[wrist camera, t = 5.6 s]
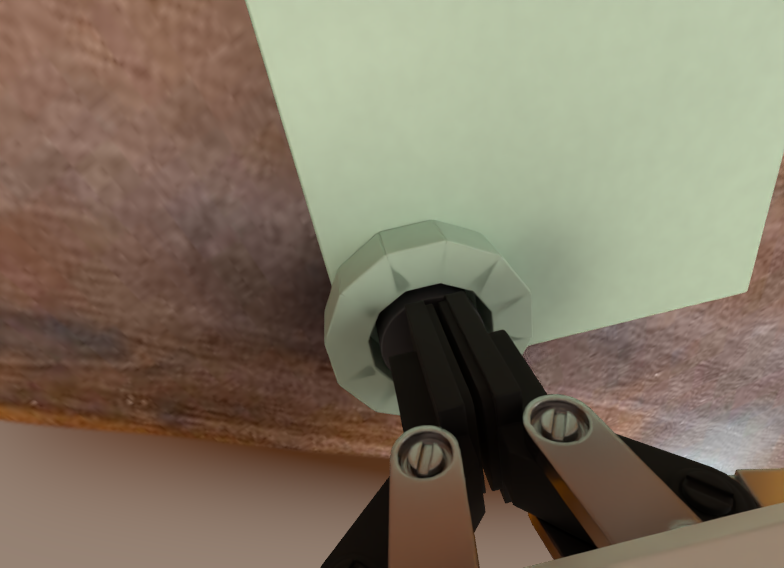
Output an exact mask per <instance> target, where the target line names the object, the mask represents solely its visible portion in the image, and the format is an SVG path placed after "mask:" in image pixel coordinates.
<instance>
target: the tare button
mask: <svg viewBox="0 0 784 568" xmlns="http://www.w3.org/2000/svg"><path fill="white" fill-rule="evenodd" d="M460 291H464V292H465V294H466V295H467V297H468V299H469V300H470V302H471V304H472V306H473V307H474V309H475V311H476V312H477V314H478V316H479V318H480V319H481V321H482V323H483V320H482V318H481V316H480V315H479V313H478V311H477V309H476V308H475V306H474V304H473V303H472V301H471V299H470V298H469V296H468V294H467V293H466V291H465V289H462V288H458V287H454V286H450V285H446V284H442V283H439V284H435V285H430V286H426V287H422V288H418V289H414V290H410V291H405V292H404V293H403V294H402V295H400V296H399V297H398V298H397V299H396V300H394V301H393V302H392V303H391V304H390V305H388V306H387V307H386V308H385V309H384V310H382V311H381V312H380V313H379V315H378V318H377V321H376V328H377V333H378V338H379V343H380V349H381V354H382V357H383V360H384V362H385V364H386V365H387V367H388V368H389V369H390V370H391V368H390V363H389V357H391V356H395V355H399V354H403V353H407V352H412V351H414V350H413V345H412V341H411V336H410V331H409V326H408V322H407V317H406V312H405V307H404V305H405V304H409V303H413V302H418V301H422V300H423V301H424V303H425V305H428V304H433V307H434V309H435V311H436V314H437V316H438V318H439V321H440V316H439V310H438V302H440V301H444V295H447V294H451V293H456V292H460ZM440 323H441V322H440ZM483 324H484V323H483Z"/></svg>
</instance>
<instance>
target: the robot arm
mask: <svg viewBox="0 0 784 568" xmlns="http://www.w3.org/2000/svg"><path fill="white" fill-rule="evenodd" d="M404 307H405V312H406V317H407V322H408V326H409V331H410V336H411V341H412V345H413V350H414V351H412V352H407V353H403V354H399V355H395V356H391V357H389V363H390V368H391V373H392V378H393V382H394V387H395V392H396V397H397V402H398V407H399V412H400V417H401V422H402V426H403V431H404V433H403V434H402V435H401V436H400V437H399V438H398V439H397V440H396V442H395V443H394V445H393V447H392V450H391V455H390V476H389V478H388V479H387V480H386V482H385V483H384V484H383V485H382V487H381V488H380V490H379V491H378V492H377V493H376V495H375V496H374V497H373V499H372V500H371V501H370V503H369V504H368V505H367V507H366V508H365V509H364V510H363V512H362V513H361V514H360V516H359V517H358V518H357V520H356V521H355V522H354V524H353V525H352V526H351V528H350V529H349V530H348V531H347V533H346V534H345V536H344V537H343V538H342V539H341V541H340V542H339V543H338V545H337V546H336V547H335V549H334V550H333V551H332V553H331V554H330V555H329V556H328V558H327V559H326V560H325V562H324V563H323V564H322V566H321V568H479V561H478V554H477V548H476V542H475V535H474V532H475V530H476V528H477V527H478V525H479V523H480V521H481V519H482V517H483V515H484V514H485V505H484V498H483V493H486V490H485V483H484V475H483V469H484V472H485V475H486V477H487V480H488V482H489V485H490V488H491V490H492V491H495V490H499V489H500V491H501V494H502V496H503V499H504V501H505V503H509V502H512V503H513V505H515V506H516V507H518V508H520V509H522V510H524V511H526V512H528V516H529V518H530V520H531V523H532V525H533V526H534V528H535V530H536V531H537V533H538V535H539V536H540V538H541V539H542V541H543V543H544V544H545V546H546V548H547V549H548V551H549V553H550V554H551V556H552V557H553V559H554V560H552V561H548V562H544V563H540V564H536V565H532V566H529V567H525V568H784V468H781V469H741V470H736V472H735V475H727V474H725V473H723V472H721V471H719V470H717V469H714V468H712V467H710V466H707V465H704V464H701V463H698V462H695V461H693V460H690V459H687V458H684V457H681V456H678V455H675V454H672V453H670V452H667V451H664V450H661V449H658V448H655V447H652V446H649V445H647V444H644V443H641V442H638V441H635V440H632V439H629V438H626V437H624V436H621V435H618V434H615V433H614V432H613V431H612V430H611V429H610V428H609V427H608V426H607V425H606V424H605V423H604V422H603V421H602V420H601V419H600V418H599V417H598V416H597V415H596V414H595V413H594V412H593V411H592V410H591V409H590V408H589V407H588V406H587V405H585V404H584V403H583V402H581V401H579V400H577V399H575V398H573V397H570V396H565V395H561V394H548V395H547V393H546V392H545V390H544V388H543V387H542V385H541V384H540V382H539V381H538V379H537V378H536V376H535V375H534V373H533V372H532V370H531V368H530V367H529V365H528V364H527V362H526V361H525V359H524V358H523V356H522V355H521V353H520V352H519V350H518V348H517V347H516V345H515V344H514V342H513V341H512V339H511V338H510V336H509V335H508V333H507V332H506V331H505V330H499V331H495V332H490V333H488V331H487V330H486V328H485V326H484V324H483V323H482V321H481V319H480V318H479V316H478V314H477V312H476V311H475V309H474V307H473V306H472V304H471V302H470V300H469V299H468V297H467V295H466V294H465V292H464V291H460V292H456V293H451V294H447V295H444V301H440V302H438V310H439V316H440V321H439V318H438V316H437V314H436V311H435V309H434V307H433V304H428V305H425V303H424V301H423V300H422V301H418V302H413V303H409V304H405V305H404ZM440 322H441V323H440Z"/></svg>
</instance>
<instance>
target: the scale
mask: <svg viewBox="0 0 784 568" xmlns="http://www.w3.org/2000/svg"><path fill="white" fill-rule="evenodd" d="M245 2H246V6H247V9H248V12H249V16H250V19H251V22H252V25H253V29H254V32H255V35H256V39H257V42H258V45H259V48H260V52H261V55H262V58H263V62H264V65H265V68H266V72H267V75H268V78H269V81H270V85H271V88H272V91H273V95H274V98H275V101H276V104H277V108H278V111H279V114H280V118H281V121H282V124H283V127H284V131H285V134H286V137H287V141H288V144H289V147H290V151H291V154H292V157H293V160H294V164H295V167H296V170H297V174H298V177H299V180H300V183H301V187H302V190H303V193H304V197H305V200H306V203H307V207H308V210H309V213H310V216H311V220H312V223H313V226H314V230H315V233H316V236H317V239H318V243H319V246H320V249H321V253H322V256H323V259H324V262H325V266H326V269H327V272H328V276H329V279H330V282H331V286H332V289H331V292H330V295H329V298H328V302H327V305H326V308H325V311H324V344H325V347H326V350H327V353H328V356H329V359H330V362H331V365H332V368H333V370H334V373H335V376H336V379H337V382H338V384H340V386H341V387H342V388H344V389H345V390H346V391H348V392H349V393H351V394H352V395H353V396H355V397H356V398H357V399H359V400H360V401H361V402H363V403H364V404H366V405H367V406H368V407H370V408H371V409H372V410H374V411H376V412H381V413H387V414H394V415H400V412H399V407H398V402H397V397H396V392H395V387H394V382H393V378H392V373H391V370H390V369H389V368H388V367H387V365H386V364H385V362H384V360H383V357H382V354H381V349H380V343H379V338H378V333H377V328H376V321H377V318H378V315H379V313H380V312H381V311H382V310H384V309H385V308H386V307H387V306H388V305H390V304H391V303H392V302H393V301H394V300H396V299H397V298H398V297H399V296H400V295H402V294H403V293H404V292H405V291H410V290H414V289H418V288H422V287H426V286H430V285H435V284H439V283H442V284H446V285H450V286H454V287H458V288H462V289H465V291H466V293H467V294H468V296H469V298H470V299H471V301H472V303H473V304H474V306H475V308H476V309H477V311H478V313H479V315H480V316H481V318H482V320H483V323H484V326H485V328H486V330H487V331H488V333H490V332H495V331H499V330H505V331H506V332H507V333H508V335H509V336H510V338H511V339H512V341H513V342H514V344H515V345H516V347H517V348H518V350H519V352H520V353H521V355H523V353H524V351H525V349H526V348H527V346H529V345H533V344H537V343H541V342H545V341H549V340H554V339H558V338H562V337H566V336H570V335H574V334H578V333H582V332H586V331H590V330H594V329H598V328H602V327H606V326H610V325H615V324H619V323H623V322H627V321H631V320H635V319H639V318H643V317H647V316H651V315H655V314H659V313H663V312H667V311H671V310H676V309H680V308H684V307H688V306H692V305H696V304H700V303H704V302H708V301H712V300H716V299H720V298H724V297H728V296H733V295H737V294H741V293H745V292H747V290H748V286H749V282H750V278H751V275H752V271H753V267H754V263H755V259H756V256H757V252H758V248H759V244H760V240H761V236H762V233H763V229H764V225H765V221H766V217H767V214H768V210H769V206H770V202H771V198H772V194H773V191H774V187H775V183H776V179H777V175H778V172H779V168H780V164H781V160H782V156H783V152H784V0H245Z"/></svg>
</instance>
